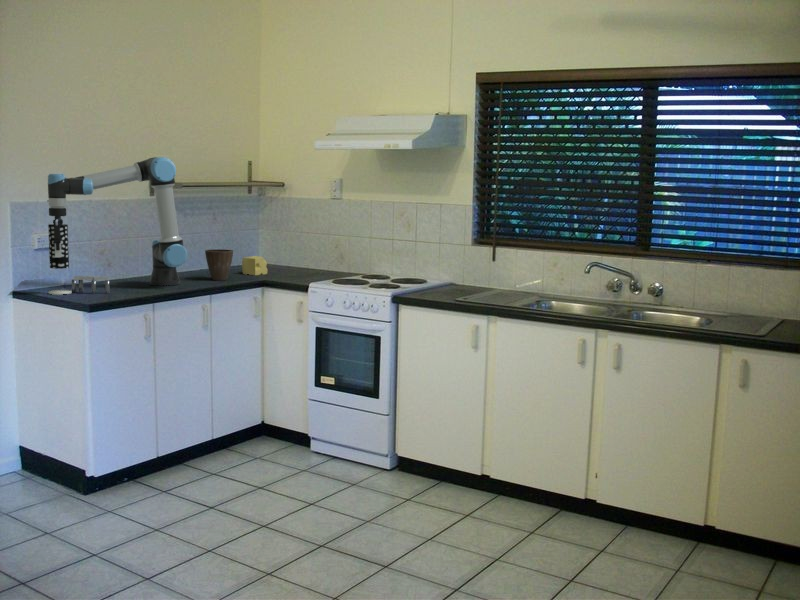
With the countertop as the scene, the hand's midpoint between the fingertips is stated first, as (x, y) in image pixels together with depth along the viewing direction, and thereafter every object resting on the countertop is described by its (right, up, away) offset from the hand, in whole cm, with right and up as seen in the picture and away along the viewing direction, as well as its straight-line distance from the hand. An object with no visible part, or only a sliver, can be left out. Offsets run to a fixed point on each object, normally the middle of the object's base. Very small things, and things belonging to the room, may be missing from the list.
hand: (59, 256), depth 387 cm
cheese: (+75, -6, +93) cm, 119 cm away
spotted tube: (0, -5, +1) cm, 6 cm away
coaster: (0, -17, +3) cm, 18 cm away
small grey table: (+12, -17, +6) cm, 22 cm away
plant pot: (+61, -10, +64) cm, 89 cm away
